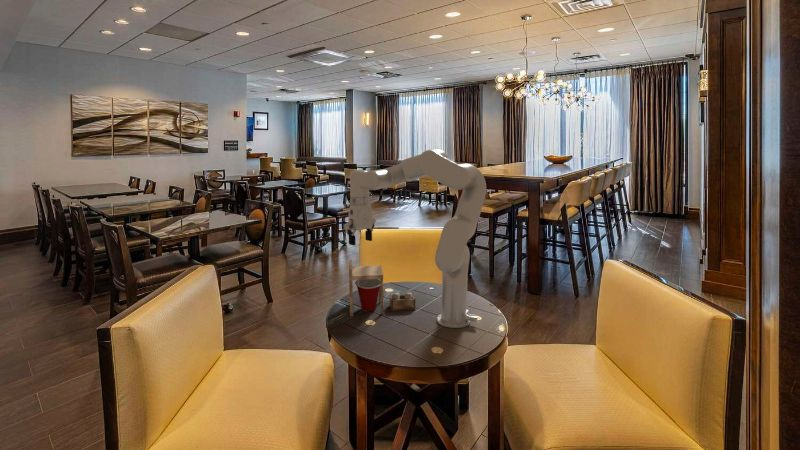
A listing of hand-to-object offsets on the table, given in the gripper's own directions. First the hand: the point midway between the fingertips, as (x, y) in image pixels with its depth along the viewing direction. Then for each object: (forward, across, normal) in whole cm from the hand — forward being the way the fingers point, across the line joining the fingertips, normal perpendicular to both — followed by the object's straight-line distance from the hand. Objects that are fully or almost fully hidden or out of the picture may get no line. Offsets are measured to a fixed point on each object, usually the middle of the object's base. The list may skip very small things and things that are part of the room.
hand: (360, 242), depth 174 cm
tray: (+27, +9, -15) cm, 32 cm away
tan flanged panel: (+27, -2, -4) cm, 28 cm away
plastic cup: (+27, -1, -5) cm, 28 cm away
